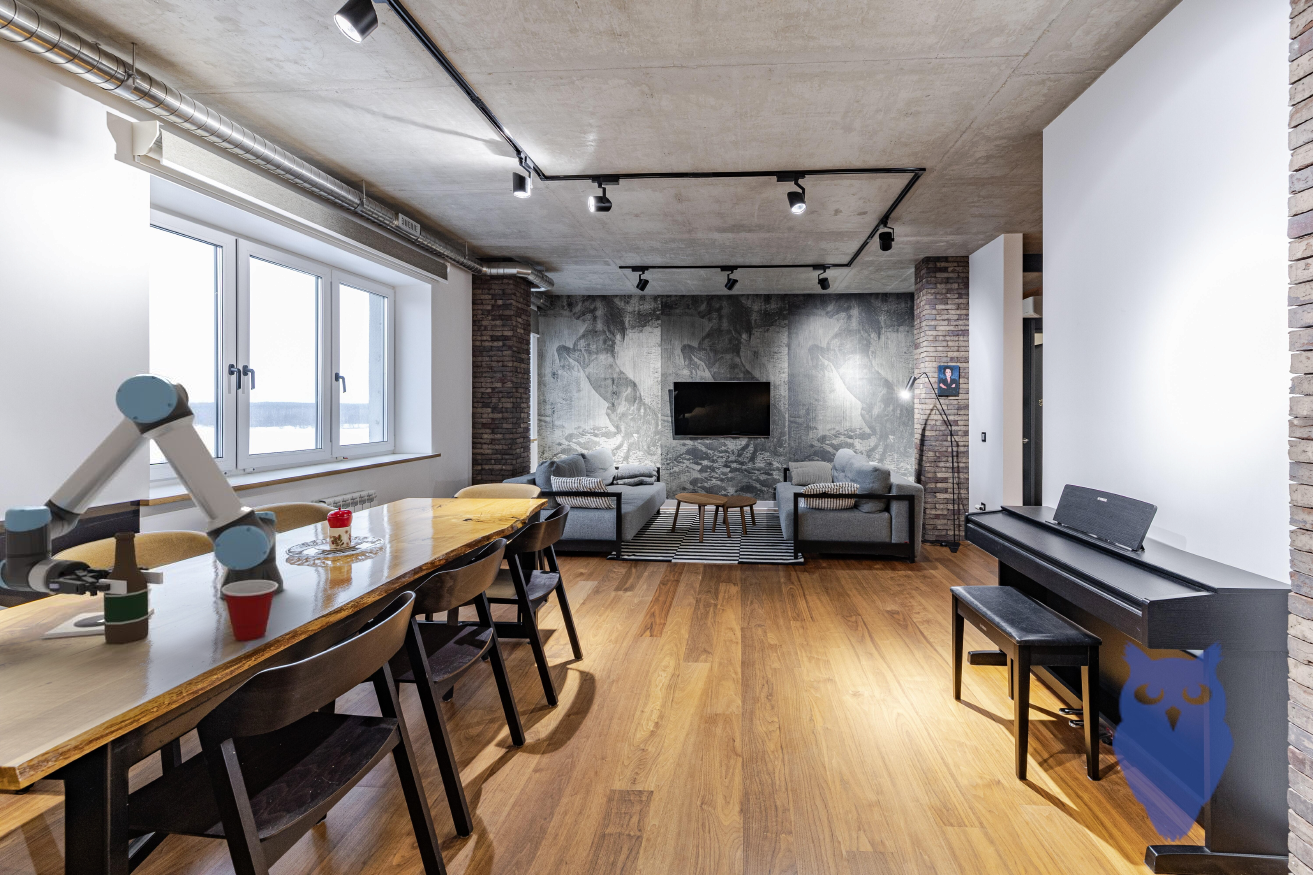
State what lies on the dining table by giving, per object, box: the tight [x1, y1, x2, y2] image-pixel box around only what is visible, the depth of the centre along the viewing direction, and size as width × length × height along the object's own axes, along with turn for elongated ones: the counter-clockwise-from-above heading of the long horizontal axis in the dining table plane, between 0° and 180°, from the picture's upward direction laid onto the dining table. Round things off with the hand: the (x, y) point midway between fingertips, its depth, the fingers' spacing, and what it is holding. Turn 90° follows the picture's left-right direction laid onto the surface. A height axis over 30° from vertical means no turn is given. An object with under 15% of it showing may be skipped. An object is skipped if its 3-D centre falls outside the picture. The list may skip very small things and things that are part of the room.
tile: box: [43, 607, 155, 639], centre depth 148 cm, size 15×15×1 cm
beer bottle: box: [103, 531, 149, 645], centre depth 139 cm, size 8×8×24 cm
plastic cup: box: [222, 580, 278, 642], centre depth 141 cm, size 11×11×12 cm
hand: (143, 582), depth 138 cm, fingers closed on beer bottle, 7 cm apart
